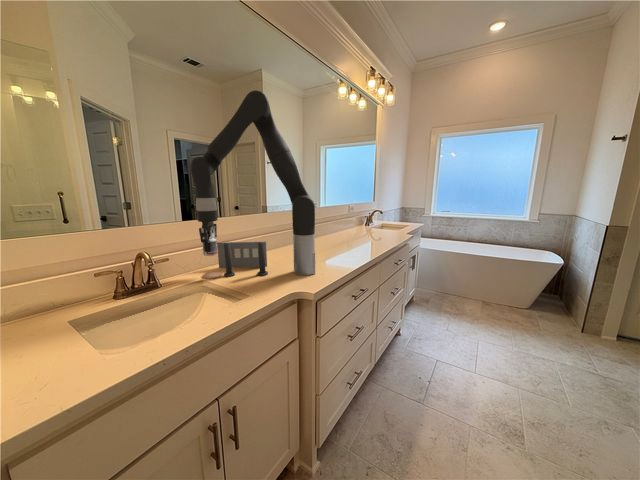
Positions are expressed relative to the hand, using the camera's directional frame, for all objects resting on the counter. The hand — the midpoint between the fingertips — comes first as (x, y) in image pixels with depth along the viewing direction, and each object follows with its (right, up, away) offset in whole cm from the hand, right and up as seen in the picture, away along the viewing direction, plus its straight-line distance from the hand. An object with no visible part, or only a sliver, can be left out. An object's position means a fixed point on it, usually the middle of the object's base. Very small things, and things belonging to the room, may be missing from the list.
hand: (210, 250), depth 106 cm
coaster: (0, -11, +2) cm, 11 cm away
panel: (+9, -9, +14) cm, 19 cm away
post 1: (+7, -11, +3) cm, 13 cm away
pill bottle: (0, -2, 0) cm, 2 cm away
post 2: (+21, -11, +4) cm, 24 cm away
